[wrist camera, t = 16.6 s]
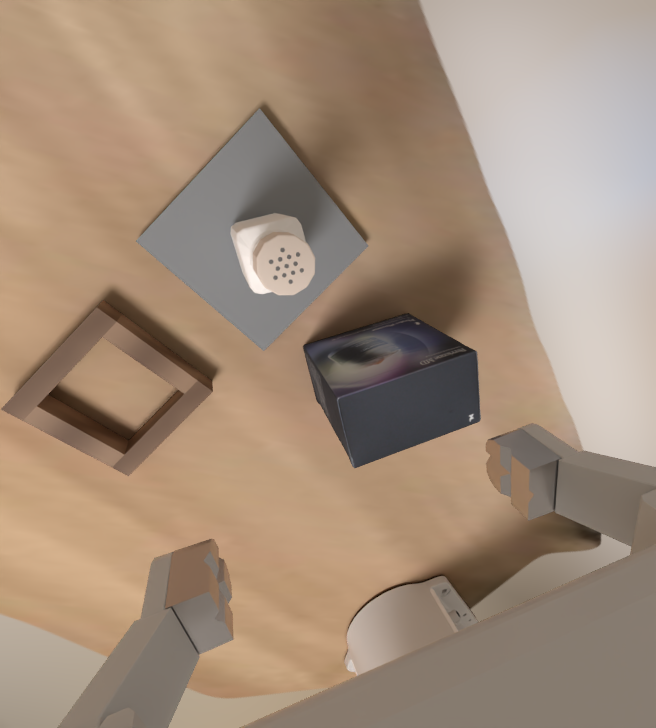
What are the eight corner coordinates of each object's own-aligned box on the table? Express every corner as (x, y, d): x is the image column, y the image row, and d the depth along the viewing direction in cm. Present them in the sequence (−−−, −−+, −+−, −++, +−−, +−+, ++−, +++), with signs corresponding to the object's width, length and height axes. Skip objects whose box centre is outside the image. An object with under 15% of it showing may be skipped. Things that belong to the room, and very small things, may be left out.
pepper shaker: (227, 224, 27) (237, 236, 19) (281, 210, 28) (314, 217, 20) (244, 278, 29) (260, 312, 21) (294, 265, 30) (330, 292, 21)
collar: (212, 380, 32) (212, 391, 31) (132, 461, 33) (128, 476, 31) (103, 300, 28) (96, 307, 26) (13, 396, 28) (1, 409, 27)
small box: (409, 307, 35) (482, 346, 26) (416, 368, 38) (484, 423, 29) (299, 341, 33) (336, 397, 24) (316, 403, 36) (354, 474, 27)
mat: (363, 244, 32) (368, 245, 31) (262, 346, 33) (263, 351, 32) (257, 111, 26) (259, 108, 25) (138, 239, 27) (135, 241, 26)
